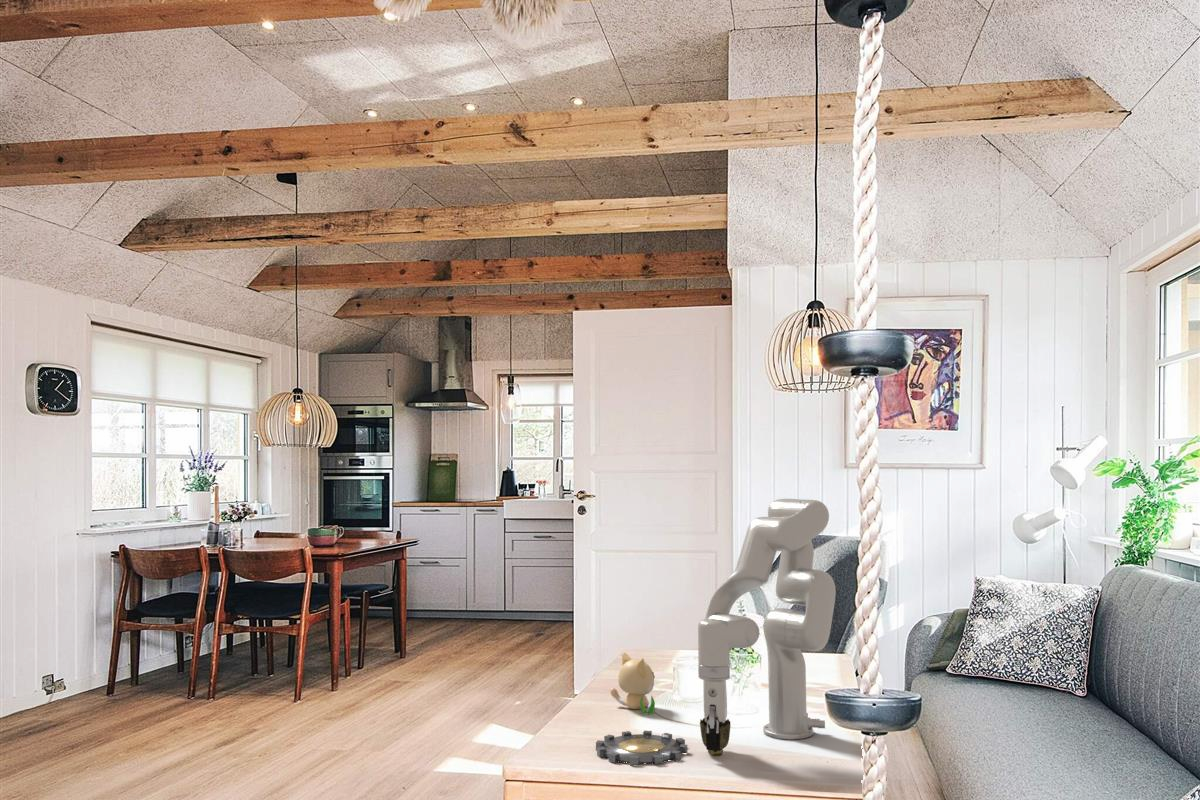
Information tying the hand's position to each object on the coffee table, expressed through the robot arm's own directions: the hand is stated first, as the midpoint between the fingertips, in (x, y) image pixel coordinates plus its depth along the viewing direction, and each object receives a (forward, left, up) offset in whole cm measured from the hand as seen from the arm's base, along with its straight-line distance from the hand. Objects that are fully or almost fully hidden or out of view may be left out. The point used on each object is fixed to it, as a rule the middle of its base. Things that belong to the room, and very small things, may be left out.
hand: (714, 743), depth 234 cm
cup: (0, 0, -3) cm, 3 cm away
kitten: (+25, -39, -3) cm, 46 cm away
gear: (+18, 0, -3) cm, 18 cm away
